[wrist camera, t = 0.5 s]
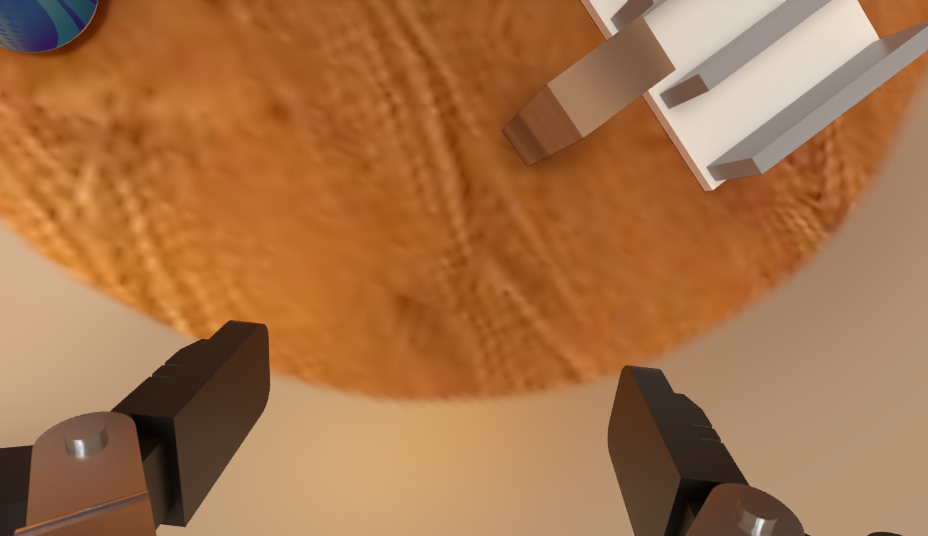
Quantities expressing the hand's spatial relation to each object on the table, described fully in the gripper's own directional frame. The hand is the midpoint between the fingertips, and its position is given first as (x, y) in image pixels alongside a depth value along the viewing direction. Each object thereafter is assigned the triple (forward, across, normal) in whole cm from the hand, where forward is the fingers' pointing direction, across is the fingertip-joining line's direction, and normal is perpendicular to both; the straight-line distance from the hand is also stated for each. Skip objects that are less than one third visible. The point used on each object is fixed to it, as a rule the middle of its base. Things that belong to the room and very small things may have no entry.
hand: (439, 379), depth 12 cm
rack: (+32, -16, -12) cm, 37 cm away
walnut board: (+28, -4, -4) cm, 28 cm away
